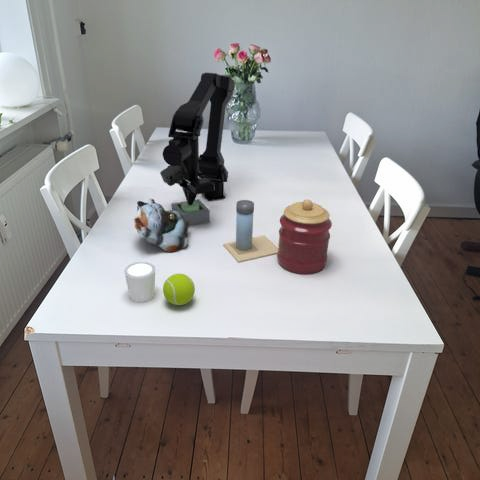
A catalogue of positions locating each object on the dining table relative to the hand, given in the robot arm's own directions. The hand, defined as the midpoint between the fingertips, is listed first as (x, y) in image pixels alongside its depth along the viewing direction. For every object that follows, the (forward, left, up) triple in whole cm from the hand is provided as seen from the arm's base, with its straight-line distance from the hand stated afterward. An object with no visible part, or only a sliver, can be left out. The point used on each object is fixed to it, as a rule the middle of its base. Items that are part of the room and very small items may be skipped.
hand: (190, 204), depth 140 cm
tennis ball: (+17, +39, -5) cm, 43 cm away
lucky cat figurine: (+12, +11, -5) cm, 17 cm away
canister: (-18, +35, -5) cm, 40 cm away
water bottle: (-7, +23, -4) cm, 24 cm away
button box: (0, 0, -5) cm, 5 cm away
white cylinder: (+24, +33, -5) cm, 41 cm away
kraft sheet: (-9, +24, -5) cm, 26 cm away
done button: (0, 0, -4) cm, 4 cm away
